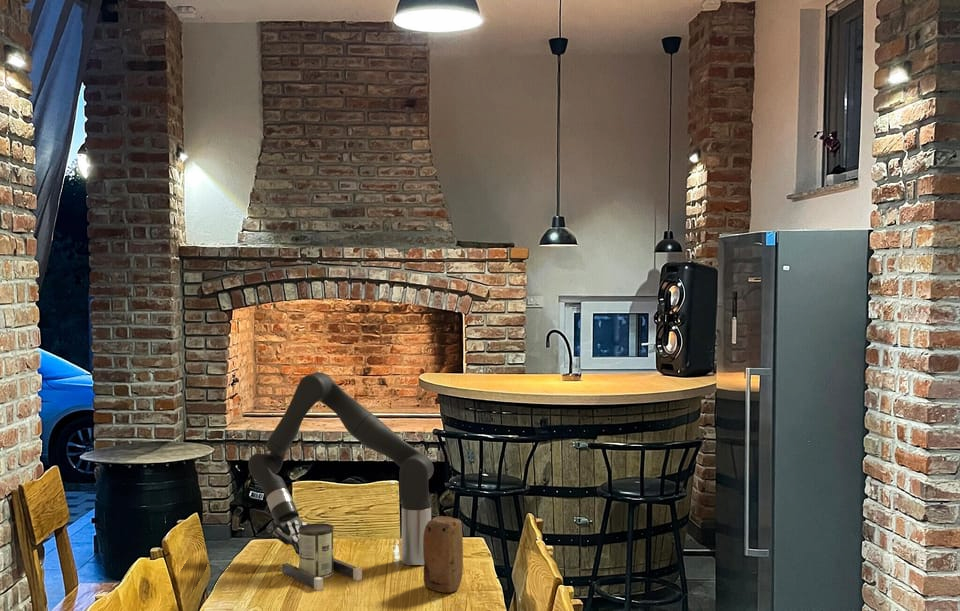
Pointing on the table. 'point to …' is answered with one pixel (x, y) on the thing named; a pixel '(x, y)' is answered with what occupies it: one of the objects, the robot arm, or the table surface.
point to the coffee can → (316, 549)
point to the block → (443, 554)
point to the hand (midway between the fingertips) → (302, 553)
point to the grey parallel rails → (318, 581)
